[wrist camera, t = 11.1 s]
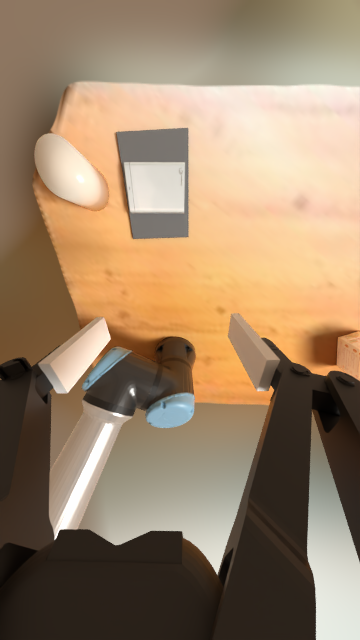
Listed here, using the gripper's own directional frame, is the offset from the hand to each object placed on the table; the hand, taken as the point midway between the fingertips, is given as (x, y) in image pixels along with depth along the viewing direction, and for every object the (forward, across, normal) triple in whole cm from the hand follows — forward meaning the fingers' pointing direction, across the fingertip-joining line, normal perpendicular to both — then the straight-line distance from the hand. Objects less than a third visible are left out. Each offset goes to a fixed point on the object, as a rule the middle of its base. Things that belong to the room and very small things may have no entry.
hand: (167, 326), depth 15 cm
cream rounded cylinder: (+29, +19, -20) cm, 40 cm away
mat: (+28, +4, -19) cm, 34 cm away
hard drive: (+28, +4, -19) cm, 34 cm away
